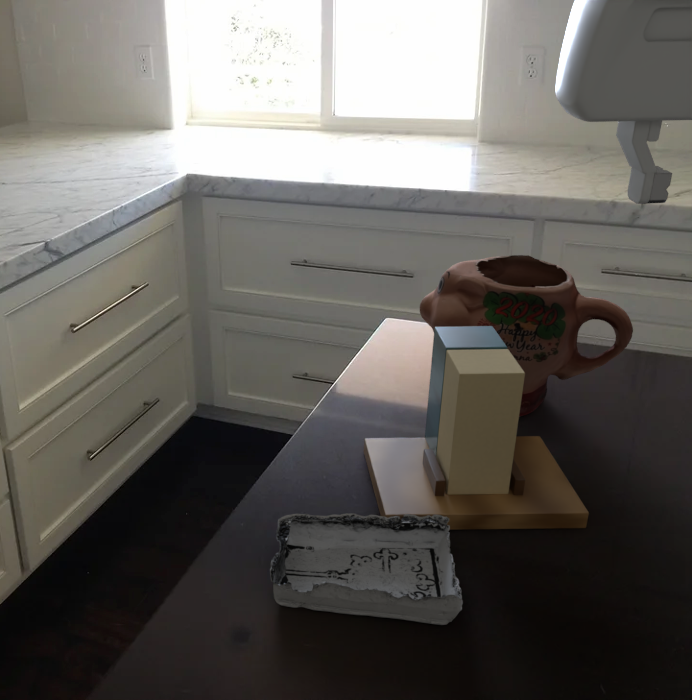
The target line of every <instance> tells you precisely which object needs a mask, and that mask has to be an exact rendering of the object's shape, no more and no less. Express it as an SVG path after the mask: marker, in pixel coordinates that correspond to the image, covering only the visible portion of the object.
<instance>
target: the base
mask: <svg viewBox="0 0 692 700" xmlns="http://www.w3.org/2000/svg"><path fill="white" fill-rule="evenodd" d="M432 340H433V341H432V352H431V364H430V374H429V387H428V397H427V409H426V419H425V430H424V437H365V438H364V439H363V441H364V442H363V455H364V459H365V462H366V466H367V470H368V474H369V477H370V481H371V485H372V488H373V493H374V496H375V499H376V504H377V508H378V511H379V516H384V517H387V518H389V517H393V516H399V517H400V520H401V519H402V518H403V516H404V515H405V514H409V515H416V516H418V517H425V516H428V515H430V516H431V517H432V516H433V515H441V516H443V517H448V518H449V522H448V523H447V525H449V526H450V530H451V531H452V530H453V531H454V530H458V531H459V530H461V531H462V530H534V529H535V530H536V529H538V530H539V529H540V530H541V529H542V530H543V529H547V530H549V529H552V530H553V529H586V528H587V525H588V521H589V520H588V519H589V515H590V513H589V511H588V509H587V508H586V506H585V505H584V503H583V501H582V500H581V498H580V497H579V494H578V493H577V492H576V490H575V489H574V487H573V486H572V484H571V483H570V481H569V480H568V478H567V476H566V475H565V473H564V472H563V471H562V469H561V467H560V465H559V464H558V463H557V462H558V461H557V460H556V459H555V457H554V456H553V455H552V453H551V452H550V450H549V448H548V447H547V444H545V442H544V440H543V439H542V438H541V436H540V435H519V436H517V435H516V442H515V449H514V456H513V463H512V470H511V478H510V485H509V492H508V494H461V495H447V493H446V490H445V484H446V480H445V478H444V475H443V473H442V470H441V468H440V465H439V463H438V461H437V458H436V454H437V444H438V433H439V423H440V412H441V402H442V392H443V381H444V371H445V361H446V351H447V350H476V349H507V346H506V345H505V343H504V342H503V340H502V339H501V338H500V336H499V335H498V333H497V332H496V330H495V329H494V328H493V326H459V327H435V329H434V332H433V339H432ZM450 530H449V531H450Z"/></svg>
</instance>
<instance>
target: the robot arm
mask: <svg viewBox="0 0 692 700" xmlns="http://www.w3.org/2000/svg"><path fill="white" fill-rule="evenodd" d="M567 21H568V22H567V25H566V29H565V33H564V37H563V41H562V46H561V50H560V54H559V61H558V66H557V71H556V78H555V88H554V89H555V96H556V100H557V101H558V103H559V104H560V106H561V107H562V109H563V110H564V111H565V113H567V114H568V115H570V116H572V117H573V118H576V119H577V120H581V121H583V122H588V123H589V122H590V123H604V122H605V123H606V122H609V123H610V122H611V123H612V122H617V128H616V133H615V136H616V138H617V141H618V142H619V146H621V149H622V152H623V155H624V157H625V158H626V162H627V163H628V166H629V167H631V169H630V172H629V173H630V174H629V179H628V185H627V186H628V187H627V198H628V200H630V201H632V202H633V203H635V204H636V205H637V204H638V205H647V204H649V205H650V204H665V203H666V202H667V200H668V198H669V192H668V188H669V187H670V186H671V183H672V179H673V172H671V171H669V170H666V169H664V168H663V167H661V166H659V165H656V163H655V160H654V157H653V155H652V153H651V151H650V147H649V145H648V142H651V143H652V142H657V141H659V139H660V134H661V129H662V125H663V121H692V0H574V1H573V4H572V7H571V11H570V14H569V18H568V20H567Z"/></svg>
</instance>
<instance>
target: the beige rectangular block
mask: <svg viewBox="0 0 692 700" xmlns="http://www.w3.org/2000/svg"><path fill="white" fill-rule="evenodd" d="M524 377H525V372H524V371H523V370H522V368H521V367H520V365H519V364H518V363H517V361H516V360H515V358H514V357H513V355H512V354H511V353H510V351H509V350H508V349H476V350H447V351H446V361H445V371H444V381H443V392H442V402H441V412H440V423H439V433H438V444H437V454H436V458H437V461H438V463H439V465H440V468H441V470H442V473H443V475H444V478H445V480H446V484H445V490H446V493H447V495H461V494H508V492H509V485H510V478H511V470H512V463H513V456H514V449H515V442H516V436H517V435H518V426H519V419H520V417H519V413H520V406H521V399H522V392H523V384H524Z"/></svg>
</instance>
